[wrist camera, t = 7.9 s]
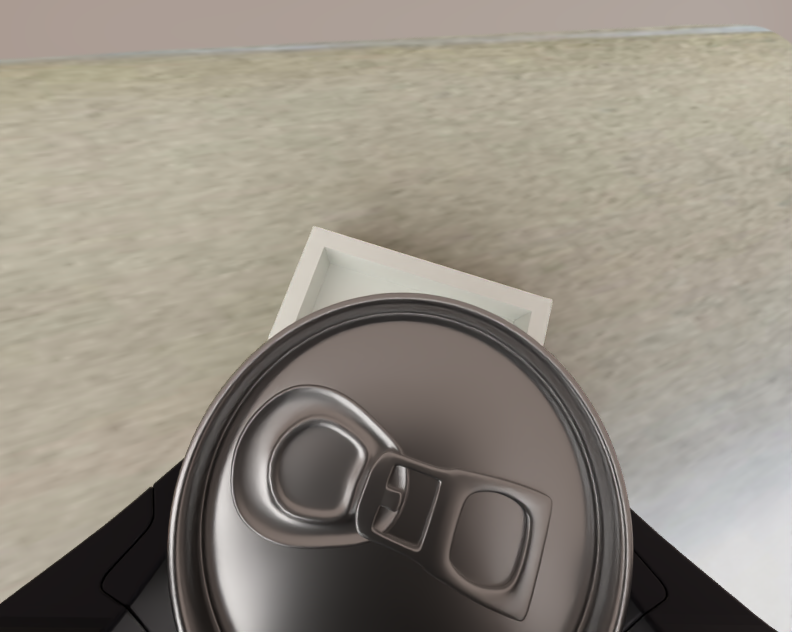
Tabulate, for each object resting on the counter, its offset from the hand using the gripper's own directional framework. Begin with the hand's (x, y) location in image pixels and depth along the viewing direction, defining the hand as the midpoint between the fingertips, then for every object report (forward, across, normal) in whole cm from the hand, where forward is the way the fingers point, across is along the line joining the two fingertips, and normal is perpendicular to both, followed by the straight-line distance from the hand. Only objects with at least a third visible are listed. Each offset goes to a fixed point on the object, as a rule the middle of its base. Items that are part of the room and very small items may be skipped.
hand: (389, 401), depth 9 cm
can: (+4, 0, +6) cm, 7 cm away
